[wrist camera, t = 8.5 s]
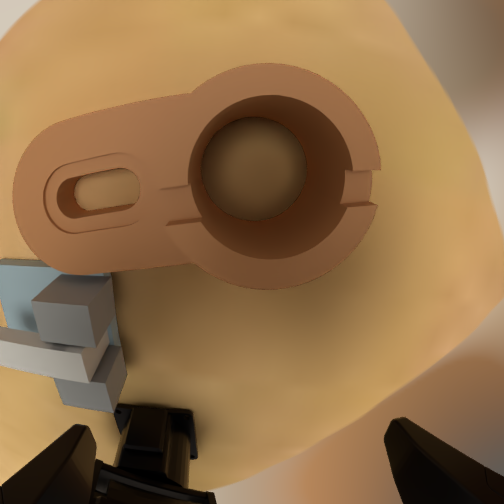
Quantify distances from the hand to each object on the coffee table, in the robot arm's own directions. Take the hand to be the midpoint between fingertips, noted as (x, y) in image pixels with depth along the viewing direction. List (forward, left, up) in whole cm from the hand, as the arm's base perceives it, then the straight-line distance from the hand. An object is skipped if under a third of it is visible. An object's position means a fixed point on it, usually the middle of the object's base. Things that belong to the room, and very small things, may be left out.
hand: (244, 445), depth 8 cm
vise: (-3, +12, -12) cm, 17 cm away
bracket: (+6, +4, -12) cm, 14 cm away
